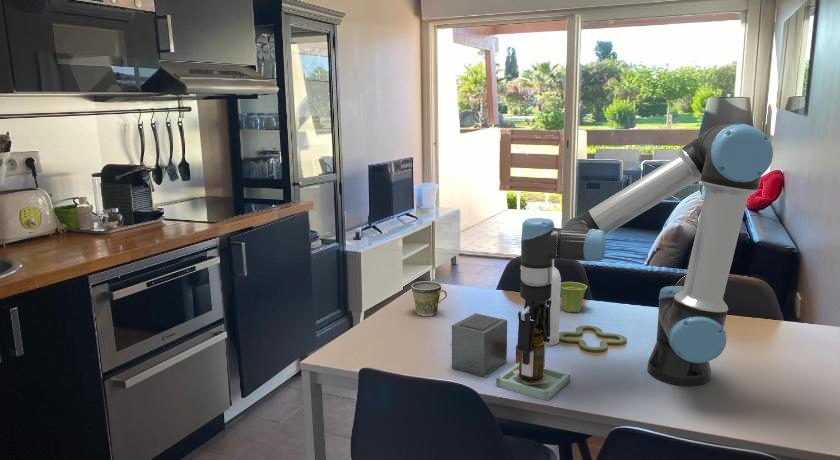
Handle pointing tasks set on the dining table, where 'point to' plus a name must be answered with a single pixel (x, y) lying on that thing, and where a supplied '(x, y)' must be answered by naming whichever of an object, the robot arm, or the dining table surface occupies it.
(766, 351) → the dining table surface
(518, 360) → the walnut block
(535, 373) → the condiment
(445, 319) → the dining table surface
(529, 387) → the tray
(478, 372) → the unit
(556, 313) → the bottle
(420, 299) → the ceramic cup
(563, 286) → the plant pot
